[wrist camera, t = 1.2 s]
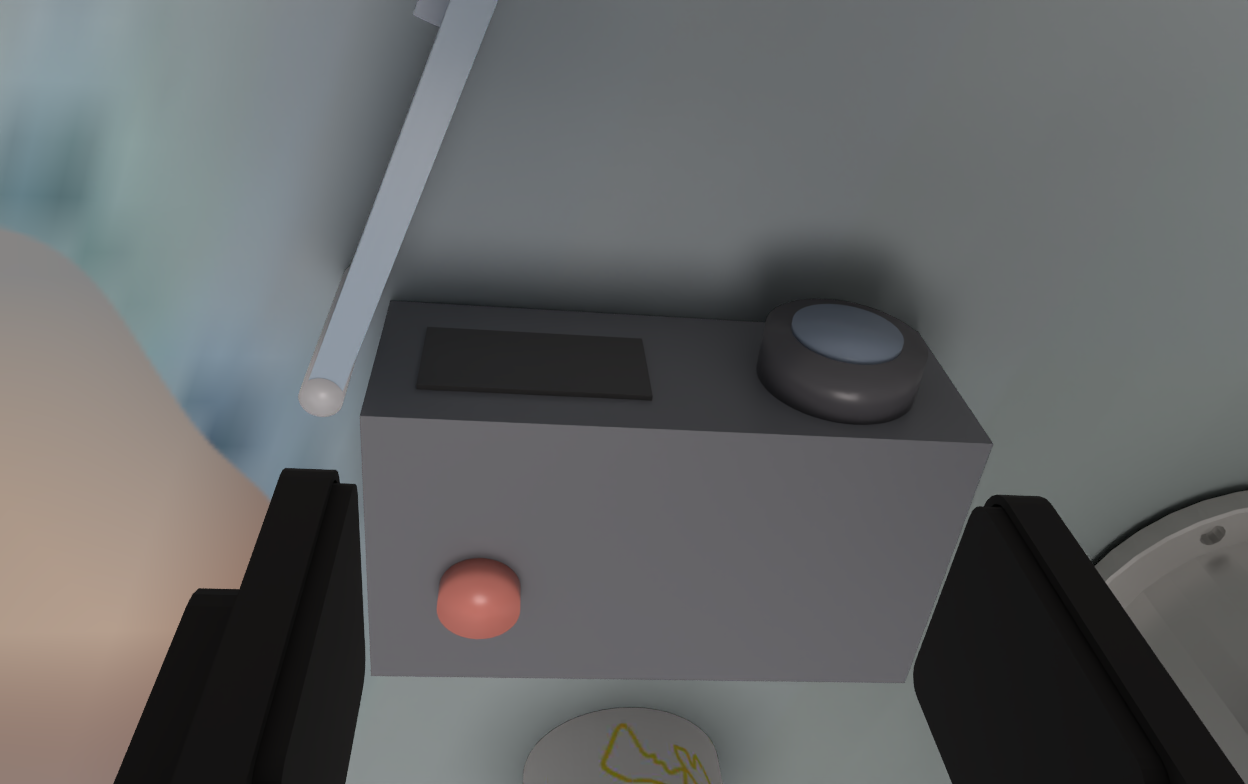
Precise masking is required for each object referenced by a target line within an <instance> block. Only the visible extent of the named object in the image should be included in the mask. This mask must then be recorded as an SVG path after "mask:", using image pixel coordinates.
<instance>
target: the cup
mask: <svg viewBox="0 0 1248 784" xmlns="http://www.w3.org/2000/svg"><path fill="white" fill-rule="evenodd" d="M523 784H723V783H722V778H721V772H720V767H719V761H718V756H717V752H716V749H715V747H714V745H713V743H712V741H711V740H710V739H709V737H708V736H707V735H706V734H705V733H704V732H703V731H702V730H701V729H700V728H698V727H697V726H696V725H694V724H693V723H691V722H690V721H688V720H686V719H684V718H681V717H679V716H677V715H674V714H671V713H668V712H664V711H659V710H654V709H647V708H614V709H606V710H601V711H596V712H592V713H588V714H585V715H582V716H579V717H577V718H574V719H572V720H570V721H567V722H565V723H563V724H562V725H560V726H558V727H556V728H555V729H553V730H552V731H551V732H549V733H548V734H547V735H545V736H544V737H543V738H542V739H541V740H540V741H539V742H538V743H537V744H536V745H535V747H534V748H533V749H532V751H531V752H530V754H529V756H528V758H527V760H526V763H525V767H524V772H523Z"/></svg>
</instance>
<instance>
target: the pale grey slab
mask: <svg viewBox="0 0 1248 784" xmlns="http://www.w3.org/2000/svg"><path fill="white" fill-rule="evenodd" d="M497 2H498V0H418V1H417V4H416V7H415V9H414V12H413V15H414V16H416V17H418V18H420V19H422V20H424V21H427V22H429V23H431V24H433V25H435V26H437V27H439V30H438V32H437V35H436V38H435V40H434V43H433V46H432V48H431V51H430V54H429V56H428V59H427V62H426V64H425V67H424V70H423V72H422V75H421V78H420V80H419V83H418V86H417V88H416V91H415V94H414V96H413V99H412V102H411V105H410V107H409V110H408V113H407V115H406V118H405V121H404V123H403V126H402V129H401V131H400V134H399V137H398V139H397V142H396V145H395V147H394V150H393V153H392V155H391V158H390V161H389V163H388V166H387V169H386V171H385V174H384V177H383V179H382V182H381V185H380V187H379V190H378V193H377V195H376V198H375V201H374V203H373V206H372V209H371V211H370V214H369V217H368V219H367V222H366V225H365V227H364V230H363V233H362V236H361V238H360V241H359V244H358V246H357V249H356V252H355V254H354V257H353V260H352V262H351V265H350V267H348V268H347V269H346V270H345V271H344V273H343V276H342V278H341V281H340V284H339V286H338V289H337V292H336V294H335V297H334V300H333V303H332V305H331V308H330V311H329V313H328V316H327V319H326V321H325V324H324V327H323V329H322V332H321V335H320V337H319V340H318V343H317V346H316V348H315V351H314V354H313V356H312V359H311V362H310V364H309V367H308V370H307V372H306V375H305V378H304V380H303V383H302V386H301V388H300V391H299V396H298V398H299V402H300V404H301V406H302V407H303V409H304V410H306V411H307V412H308V413H310V414H312V415H315V416H319V417H327V416H331V415H334V414H336V413H337V412H338V411H339V410H340V409H341V407H342V404H343V401H344V398H345V394H346V391H347V388H348V384H349V381H350V378H351V374H352V371H353V367H354V364H355V361H356V357H357V354H358V352H359V349H360V347H361V344H362V342H363V339H364V337H365V334H366V332H367V329H368V327H369V324H370V322H371V319H372V317H373V314H374V312H375V309H376V307H377V304H378V302H379V299H380V297H381V294H382V292H383V289H384V287H385V284H386V282H387V279H388V276H389V274H390V271H391V269H392V266H393V264H394V261H395V259H396V256H397V254H398V251H399V249H400V246H401V244H402V241H403V239H404V236H405V234H406V231H407V229H408V226H409V224H410V221H411V219H412V216H413V214H414V211H415V209H416V206H417V204H418V201H419V199H420V196H421V193H422V191H423V188H424V186H425V183H426V181H427V178H428V176H429V173H430V171H431V168H432V166H433V163H434V161H435V158H436V156H437V153H438V151H439V148H440V146H441V143H442V141H443V138H444V136H445V133H446V131H447V128H448V126H449V123H450V121H451V118H452V116H453V113H454V110H455V108H456V105H457V103H458V100H459V98H460V95H461V93H462V90H463V88H464V85H465V83H466V80H467V78H468V75H469V73H470V70H471V68H472V65H473V63H474V60H475V58H476V55H477V53H478V50H479V48H480V45H481V43H482V40H483V38H484V35H485V33H486V30H487V27H488V25H489V22H490V20H491V17H492V15H493V12H494V10H495V7H496V5H497Z"/></svg>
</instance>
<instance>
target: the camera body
mask: <svg viewBox="0 0 1248 784" xmlns="http://www.w3.org/2000/svg"><path fill="white" fill-rule="evenodd" d="M360 430H361V453H362V476H363V499H364V522H365V545H366V567H367V590H368V613H369V636H370V659H371V676H419V677H494V678H570V679H646V680H721V681H797V682H873V683H905V680H906V678H907V675H908V672H909V670H910V667H911V664H912V662H913V659H914V656H915V653H916V651H917V648H918V645H919V643H920V640H921V637H922V635H923V632H924V629H925V627H926V624H927V621H928V618H929V616H930V613H931V610H932V608H933V605H934V602H935V600H936V597H937V594H938V591H939V589H940V586H941V583H942V581H943V578H944V575H945V573H946V570H947V567H948V565H949V562H950V559H951V556H952V554H953V551H954V548H955V546H956V543H957V540H958V538H959V535H960V532H961V530H962V527H963V524H964V521H965V519H966V516H967V513H968V511H969V508H970V505H971V503H972V500H973V497H974V495H975V492H976V489H977V486H978V484H979V481H980V478H981V476H982V473H983V470H984V468H985V465H986V462H987V459H988V457H989V454H990V451H991V449H992V446H993V443H992V441H991V440H990V438H989V437H988V435H987V434H986V432H985V431H984V429H983V428H982V426H981V425H980V423H979V422H978V420H977V419H976V417H975V416H974V414H973V413H972V411H971V410H970V408H969V407H968V405H967V404H966V402H965V401H964V399H963V398H962V396H961V395H960V394H959V392H958V391H957V389H956V388H955V386H954V385H953V383H952V382H951V380H950V379H949V377H948V376H947V374H946V373H945V371H944V370H943V368H942V367H941V365H940V364H939V362H938V361H937V359H936V358H935V356H934V355H933V353H932V352H931V350H930V349H929V347H928V346H927V344H926V343H925V341H924V340H923V338H922V337H921V335H920V334H919V332H918V331H915V330H913V329H912V328H911V327H909V326H908V325H907V324H905V323H903V322H902V321H900V320H898V319H897V318H895V317H893V316H891V315H888V314H886V313H884V312H881V311H879V310H876V309H873V308H870V307H867V306H864V305H860V304H856V303H851V302H846V301H840V300H831V299H803V300H796V301H791V302H788V303H785V304H782V305H780V306H778V307H776V308H775V309H773V310H772V311H771V312H770V313H769V315H768V316H767V319H766V322H749V321H732V320H715V319H697V318H680V317H663V316H646V315H628V314H611V313H594V312H577V311H559V310H542V309H525V308H508V307H490V306H473V305H456V304H439V303H421V302H404V301H390V305H389V309H388V312H387V316H386V320H385V324H384V327H383V331H382V335H381V339H380V342H379V346H378V350H377V354H376V357H375V361H374V365H373V369H372V372H371V376H370V380H369V384H368V387H367V391H366V395H365V399H364V402H363V406H362V410H361V414H360Z"/></svg>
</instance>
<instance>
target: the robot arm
mask: <svg viewBox="0 0 1248 784" xmlns="http://www.w3.org/2000/svg"><path fill="white" fill-rule="evenodd" d="M364 674H365V638H364V616H363V595H362V574H361V553H360V532H359V511H358V492H357V486H356V484H341V483H340V480H339V475H338V472H337V471H336V470H322V469H295V468H285V469H284V470H282V472H281V475H280V477H279V480H278V482H277V485H276V488H275V491H274V494H273V497H272V499H271V502H270V505H269V508H268V511H267V513H266V516H265V519H264V522H263V525H262V528H261V531H260V533H259V536H258V539H257V542H256V544H255V547H254V550H253V553H252V556H251V558H250V561H249V564H248V567H247V570H246V573H245V575H244V578H243V581H242V584H241V587H240V589H201V588H199V589H198V590H197V591H196V592H195V593H193V595H192V597H191V599H190V600H189V602H188V604H187V606H186V608H185V611H184V613H183V616H182V618H181V621H180V623H179V626H178V628H177V630H176V633H175V635H174V638H173V640H172V643H171V645H170V647H169V650H168V652H167V655H166V657H165V660H164V662H163V664H162V667H161V670H160V672H159V674H158V677H157V679H156V682H155V684H154V686H153V689H152V691H151V694H150V696H149V699H148V701H147V703H146V706H145V708H144V711H143V713H142V716H141V718H140V720H139V723H138V725H137V728H136V730H135V733H134V735H133V737H132V740H131V743H130V745H129V747H128V750H127V752H126V755H125V757H124V759H123V762H122V764H121V767H120V769H119V772H118V774H117V776H116V779H115V781H114V784H345V782H346V777H347V771H348V766H349V760H350V755H351V750H352V744H353V739H354V733H355V728H356V723H357V717H358V712H359V706H360V701H361V695H362V690H363V683H364ZM913 680H914V688H915V692H916V695H917V698H918V701H919V703H920V706H921V708H922V710H923V713H924V715H925V718H926V720H927V723H928V725H929V728H930V730H931V733H932V735H933V737H934V740H935V742H936V745H937V747H938V750H939V752H940V755H941V757H942V759H943V762H944V764H945V767H946V769H947V772H948V774H949V777H950V779H951V782H952V784H1248V491H1241V492H1235V493H1231V494H1227V495H1223V496H1220V497H1216V498H1212V499H1208V500H1204V501H1201V502H1199V503H1196V504H1194V505H1191V506H1188V507H1186V508H1183V509H1181V510H1178V511H1176V512H1173V513H1171V514H1169V515H1167V516H1165V517H1163V518H1161V519H1160V520H1158V521H1156V522H1154V523H1152V524H1150V525H1148V526H1147V527H1145V528H1143V529H1141V530H1139V531H1138V532H1136V533H1135V534H1134V535H1132V536H1131V537H1129V538H1128V539H1127V540H1125V541H1124V542H1122V543H1121V544H1120V545H1118V546H1117V547H1115V548H1114V549H1113V550H1111V551H1110V552H1109V553H1108V554H1107V555H1106V556H1105V557H1104V558H1103V559H1102V560H1101V561H1100V562H1099V563H1098V564H1097V565H1095V566H1094V565H1093V564H1092V562H1091V561H1090V559H1089V558H1088V557H1087V555H1086V554H1085V552H1084V551H1083V549H1082V548H1081V546H1080V545H1079V544H1078V542H1077V541H1076V539H1075V538H1074V536H1073V535H1072V533H1071V532H1070V531H1069V529H1068V528H1067V526H1066V525H1065V523H1064V522H1063V520H1062V519H1061V518H1060V516H1059V515H1058V513H1057V512H1056V510H1055V509H1054V508H1053V506H1052V505H1051V504H1050V502H1049V501H1048V500H1047V499H1045V498H1043V497H1040V496H1016V495H994V496H991V497H990V498H989V499H988V500H987V501H986V503H985V505H984V507H982V506H980V507H976V508H975V509H974V510H973V511H972V513H971V515H970V517H969V520H968V522H967V525H966V528H965V530H964V533H963V536H962V538H961V541H960V544H959V546H958V549H957V552H956V554H955V557H954V560H953V562H952V565H951V568H950V570H949V573H948V576H947V579H946V581H945V584H944V587H943V589H942V592H941V595H940V597H939V600H938V603H937V605H936V608H935V611H934V613H933V616H932V619H931V621H930V624H929V627H928V629H927V632H926V635H925V637H924V640H923V643H922V645H921V648H920V651H919V653H918V656H917V659H916V661H915V665H914V672H913Z"/></svg>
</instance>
